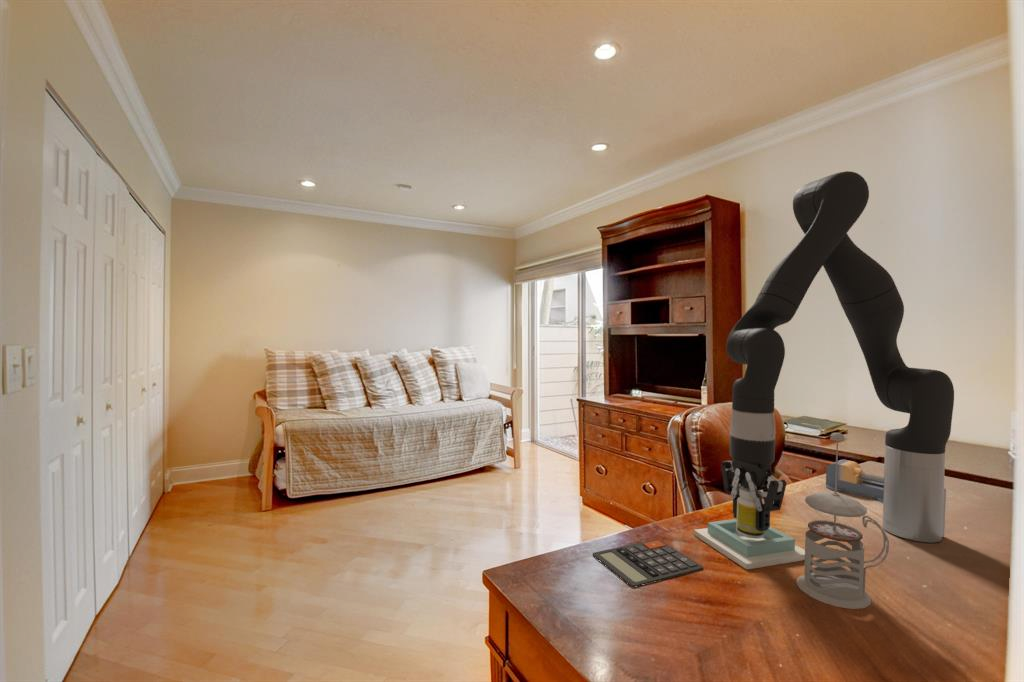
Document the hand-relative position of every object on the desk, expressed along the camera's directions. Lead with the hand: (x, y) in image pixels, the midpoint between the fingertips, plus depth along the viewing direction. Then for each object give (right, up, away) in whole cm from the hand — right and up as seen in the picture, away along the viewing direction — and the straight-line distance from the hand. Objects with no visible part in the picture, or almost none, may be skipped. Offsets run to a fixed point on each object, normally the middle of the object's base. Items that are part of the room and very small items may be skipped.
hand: (750, 523), depth 90 cm
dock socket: (0, -4, 0) cm, 4 cm away
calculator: (-21, -5, -6) cm, 23 cm away
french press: (+6, -5, -15) cm, 17 cm away
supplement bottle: (0, -2, 0) cm, 2 cm away
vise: (+44, -4, +29) cm, 53 cm away
